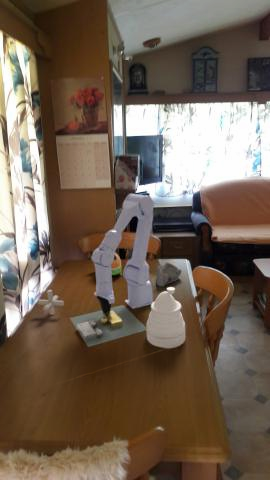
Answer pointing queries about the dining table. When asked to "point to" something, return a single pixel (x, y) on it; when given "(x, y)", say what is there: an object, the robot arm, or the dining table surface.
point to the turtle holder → (116, 265)
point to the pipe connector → (50, 302)
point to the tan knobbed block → (111, 319)
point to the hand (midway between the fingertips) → (106, 313)
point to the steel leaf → (89, 330)
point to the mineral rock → (167, 274)
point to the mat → (128, 328)
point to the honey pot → (166, 321)
